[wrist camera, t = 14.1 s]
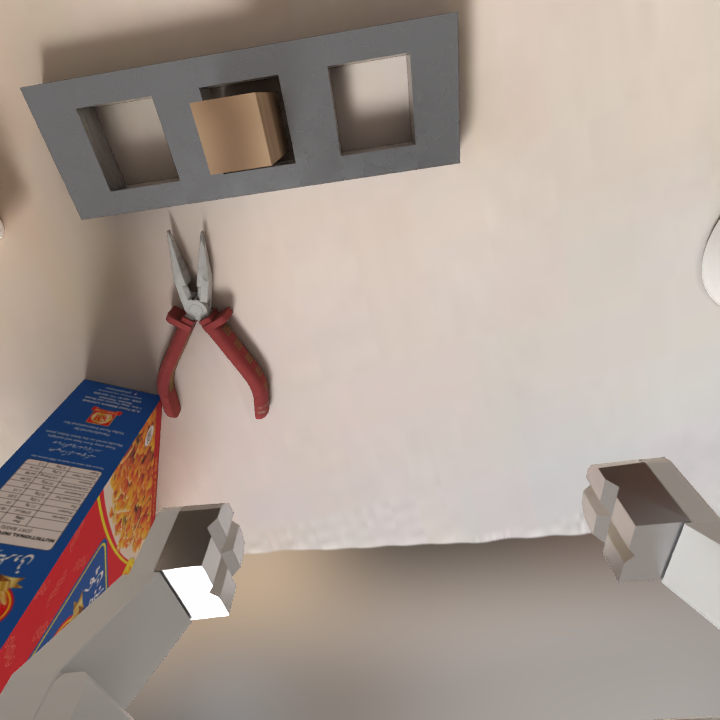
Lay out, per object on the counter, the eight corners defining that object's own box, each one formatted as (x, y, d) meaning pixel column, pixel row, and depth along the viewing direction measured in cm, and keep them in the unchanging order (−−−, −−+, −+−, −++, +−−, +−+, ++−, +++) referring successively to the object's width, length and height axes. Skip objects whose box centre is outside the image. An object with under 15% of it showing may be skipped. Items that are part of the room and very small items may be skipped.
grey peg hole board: (450, 17, 30) (457, 11, 28) (453, 158, 35) (460, 163, 32) (42, 88, 32) (19, 87, 30) (97, 212, 37) (81, 219, 34)
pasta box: (153, 549, 61) (23, 841, 37) (93, 539, 60) (-81, 834, 36) (162, 396, 47) (-38, 708, 23) (84, 379, 46) (-211, 690, 22)
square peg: (276, 92, 32) (255, 92, 25) (288, 150, 34) (271, 165, 27) (224, 100, 32) (189, 103, 26) (239, 158, 35) (210, 174, 28)
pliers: (255, 228, 38) (249, 237, 36) (273, 409, 49) (268, 424, 46) (123, 224, 38) (108, 233, 35) (170, 406, 48) (161, 422, 46)
